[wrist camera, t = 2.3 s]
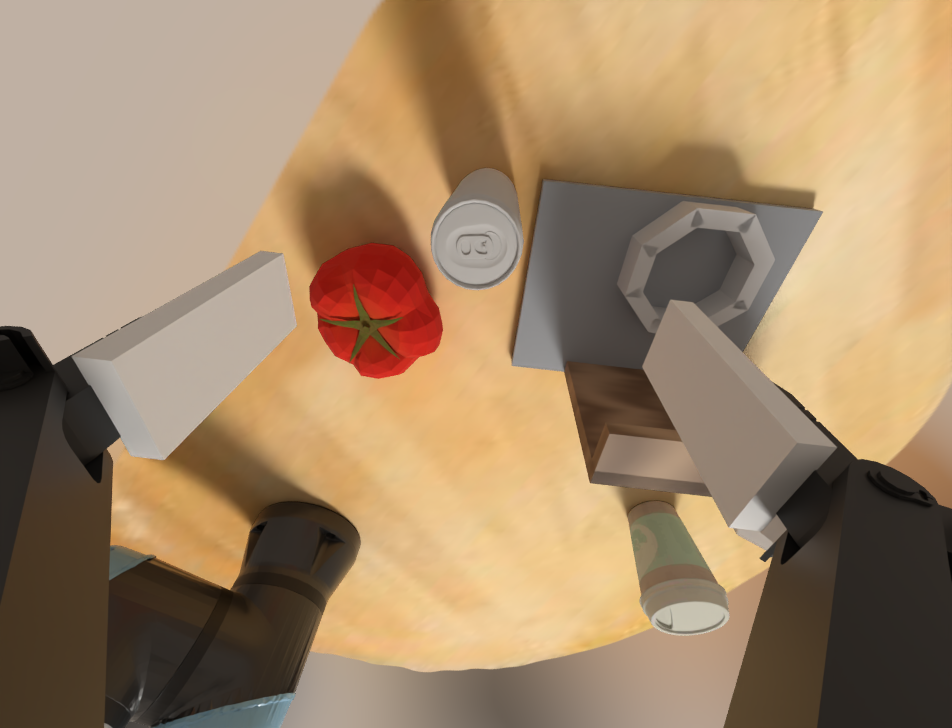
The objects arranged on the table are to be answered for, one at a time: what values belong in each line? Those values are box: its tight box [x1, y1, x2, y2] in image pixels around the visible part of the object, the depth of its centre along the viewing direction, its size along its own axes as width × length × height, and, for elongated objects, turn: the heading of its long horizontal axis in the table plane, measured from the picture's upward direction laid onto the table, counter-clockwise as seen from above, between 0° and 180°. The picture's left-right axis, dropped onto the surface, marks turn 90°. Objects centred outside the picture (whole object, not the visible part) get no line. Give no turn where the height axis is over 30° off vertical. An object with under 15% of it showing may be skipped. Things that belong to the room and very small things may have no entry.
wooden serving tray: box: [564, 361, 712, 497], centre depth 29 cm, size 14×4×14 cm, turn 85°
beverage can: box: [431, 168, 524, 290], centre depth 24 cm, size 5×5×12 cm
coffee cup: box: [628, 501, 729, 635], centre depth 43 cm, size 8×8×12 cm
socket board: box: [512, 179, 823, 372], centre depth 31 cm, size 20×16×4 cm
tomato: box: [310, 243, 443, 379], centre depth 31 cm, size 10×11×6 cm
